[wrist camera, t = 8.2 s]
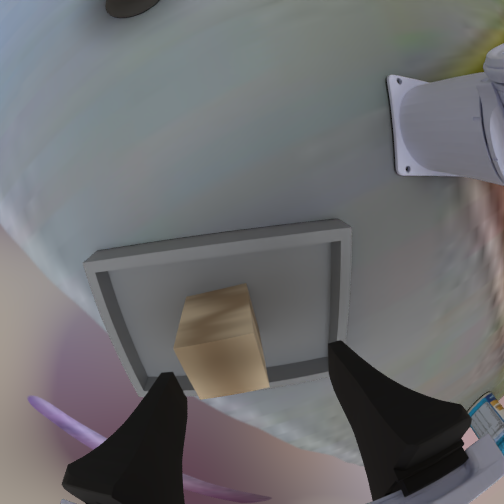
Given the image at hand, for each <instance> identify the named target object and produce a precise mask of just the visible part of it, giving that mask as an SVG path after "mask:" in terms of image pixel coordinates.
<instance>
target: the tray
mask: <svg viewBox="0 0 504 504" xmlns="http://www.w3.org/2000/svg"><path fill="white" fill-rule="evenodd" d="M351 262H352V227H351V226H349V225H347V224H346V223H344V222H343V221H341V220H339V219H329V220H320V221H311V222H302V223H293V224H285V225H276V226H268V227H260V228H252V229H244V230H236V231H229V232H221V233H213V234H206V235H199V236H192V237H184V238H177V239H170V240H164V241H157V242H150V243H144V244H137V245H130V246H124V247H118V248H111V249H105V250H99V251H96V252H95V253H94V254H93V255H92V256H90V257H89V258H88V259H87V260H86V261H84V262H83V266H84V269H85V272H86V276H87V279H88V282H89V285H90V288H91V291H92V293H93V296H94V299H95V302H96V305H97V307H98V310H99V312H100V315H101V318H102V320H103V323H104V325H105V327H106V330H107V332H108V335H109V337H110V339H111V342H112V344H113V346H114V348H115V350H116V352H117V355H118V357H119V359H120V361H121V363H122V365H123V367H124V369H125V371H126V373H127V375H128V377H129V379H130V381H131V383H132V385H133V387H134V388H135V390H136V392H137V394H138V396H139V397H145V395H146V394H147V393H148V391H149V390H150V388H151V387H152V385H153V384H154V382H155V381H156V379H157V378H158V376H159V375H160V374H161V373H163V372H173V373H174V375H175V377H176V379H177V380H178V382H179V384H180V386H181V388H182V390H183V392H184V394H185V395H186V396H198V395H197V393H196V391H195V389H194V388H193V386H192V384H191V382H190V380H189V378H188V377H187V375H186V373H185V371H184V369H183V367H182V365H181V363H180V361H179V359H178V358H177V356H176V354H175V352H174V350H173V347H174V343H175V339H176V335H177V331H178V327H179V323H180V319H181V315H182V311H183V307H184V303H185V300H186V297H188V296H192V295H197V294H201V293H206V292H210V291H214V290H219V289H223V288H227V287H231V286H236V285H240V284H244V283H246V284H247V288H248V291H249V295H250V299H251V302H252V306H253V310H254V314H255V317H256V321H257V325H258V328H259V332H260V337H261V343H262V348H263V353H264V359H265V364H266V370H267V375H268V380H269V386H270V387H268V388H264V389H270V388H277V387H283V386H289V385H295V384H300V383H305V382H310V381H315V380H320V379H324V378H329V377H330V376H329V369H328V343H332V342H335V341H339V340H341V341H343V342H344V343H345V344H346V337H347V327H348V315H349V302H350V286H351ZM264 389H259V390H264ZM254 391H256V390H254Z"/></svg>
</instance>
